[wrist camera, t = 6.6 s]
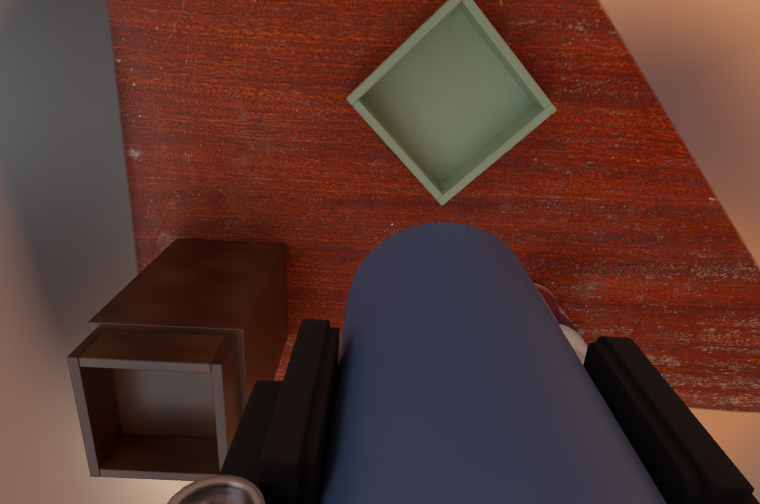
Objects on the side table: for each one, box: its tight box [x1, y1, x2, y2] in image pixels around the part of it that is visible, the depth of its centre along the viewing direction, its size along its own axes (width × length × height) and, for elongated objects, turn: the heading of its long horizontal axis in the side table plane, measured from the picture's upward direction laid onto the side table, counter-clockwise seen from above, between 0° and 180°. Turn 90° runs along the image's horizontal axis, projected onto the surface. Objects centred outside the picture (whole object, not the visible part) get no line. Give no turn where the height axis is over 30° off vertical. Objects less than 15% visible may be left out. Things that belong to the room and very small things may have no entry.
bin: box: [347, 0, 557, 206], centre depth 38 cm, size 10×10×4 cm
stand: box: [67, 239, 287, 481], centre depth 37 cm, size 9×9×17 cm
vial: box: [317, 223, 667, 504], centre depth 10 cm, size 5×5×9 cm
